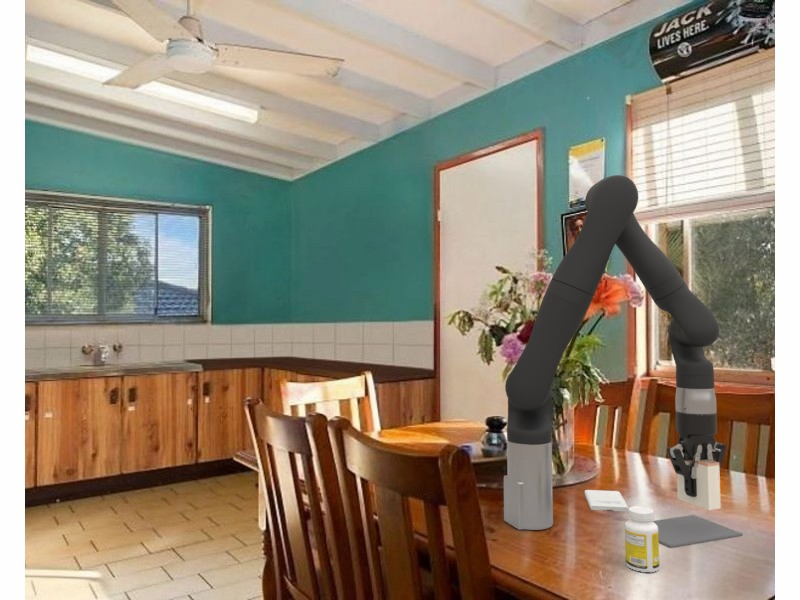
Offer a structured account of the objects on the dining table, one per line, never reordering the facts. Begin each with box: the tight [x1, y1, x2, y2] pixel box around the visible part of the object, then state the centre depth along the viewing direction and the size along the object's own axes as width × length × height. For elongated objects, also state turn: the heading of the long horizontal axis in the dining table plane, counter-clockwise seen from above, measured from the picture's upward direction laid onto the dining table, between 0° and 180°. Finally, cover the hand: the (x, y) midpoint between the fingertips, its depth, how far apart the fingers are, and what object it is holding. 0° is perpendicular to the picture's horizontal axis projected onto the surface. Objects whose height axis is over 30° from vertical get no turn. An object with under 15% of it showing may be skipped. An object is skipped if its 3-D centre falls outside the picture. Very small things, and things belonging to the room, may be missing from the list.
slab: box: [676, 459, 722, 511], centre depth 122 cm, size 3×8×9 cm, turn 20°
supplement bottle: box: [624, 506, 660, 573], centre depth 103 cm, size 5×5×10 cm
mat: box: [652, 514, 744, 549], centre depth 120 cm, size 18×12×1 cm, turn 110°
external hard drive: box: [584, 489, 630, 513], centre depth 139 cm, size 2×8×12 cm
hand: (698, 494), depth 122 cm, fingers closed on slab, 3 cm apart
